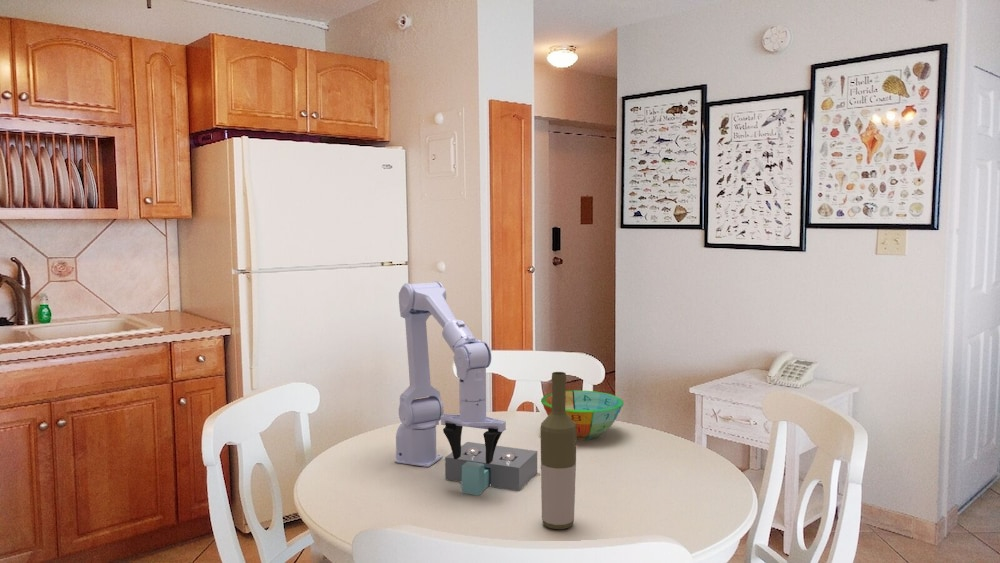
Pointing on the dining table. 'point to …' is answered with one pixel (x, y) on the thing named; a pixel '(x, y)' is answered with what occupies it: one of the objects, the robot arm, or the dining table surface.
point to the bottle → (558, 460)
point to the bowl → (588, 411)
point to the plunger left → (472, 451)
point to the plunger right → (508, 456)
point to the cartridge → (475, 478)
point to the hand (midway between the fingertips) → (473, 460)
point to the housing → (496, 466)
